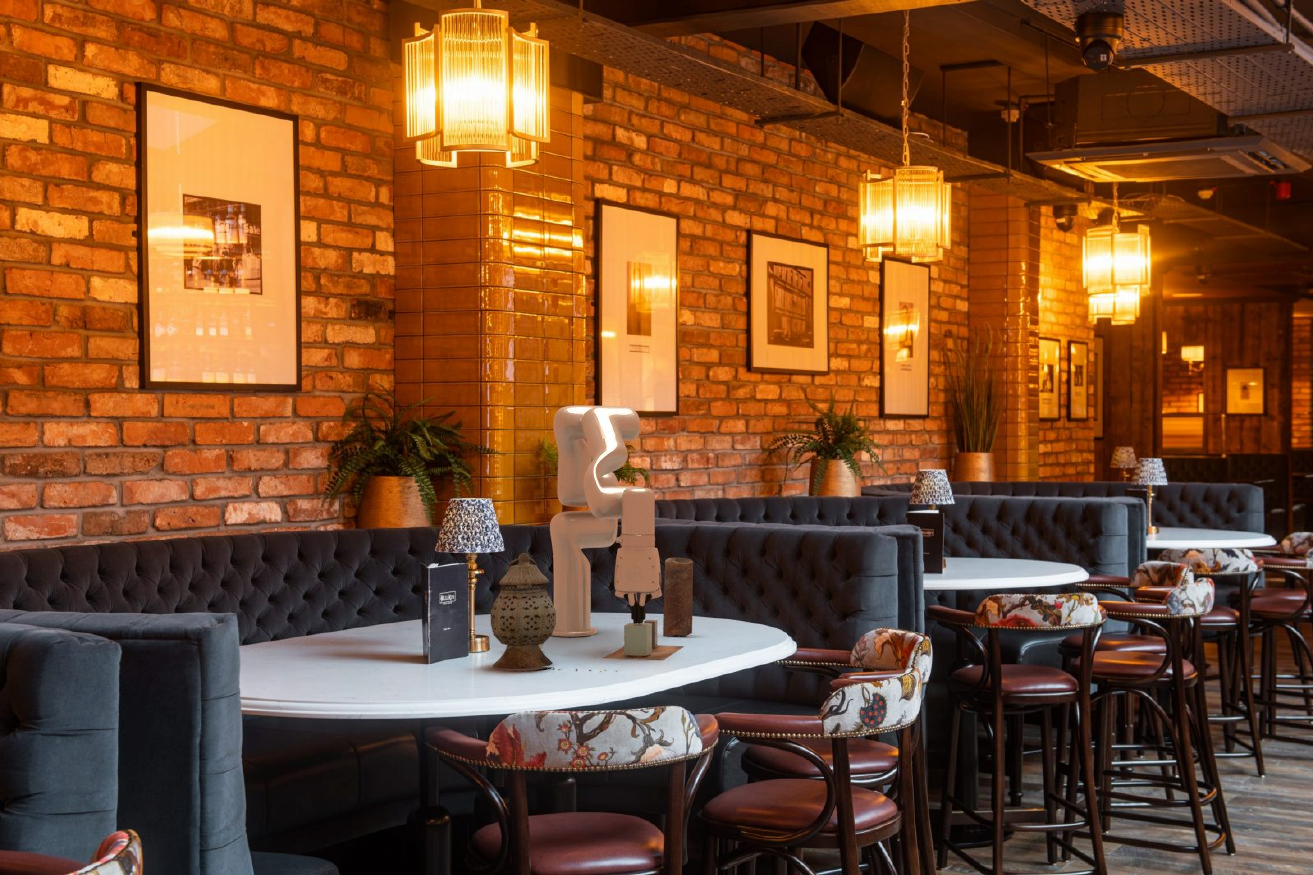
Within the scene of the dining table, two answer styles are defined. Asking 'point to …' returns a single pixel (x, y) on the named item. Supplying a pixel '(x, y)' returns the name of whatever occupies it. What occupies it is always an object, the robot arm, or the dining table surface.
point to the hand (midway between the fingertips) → (638, 622)
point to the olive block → (638, 639)
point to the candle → (678, 597)
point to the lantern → (523, 618)
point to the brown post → (653, 632)
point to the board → (656, 654)
